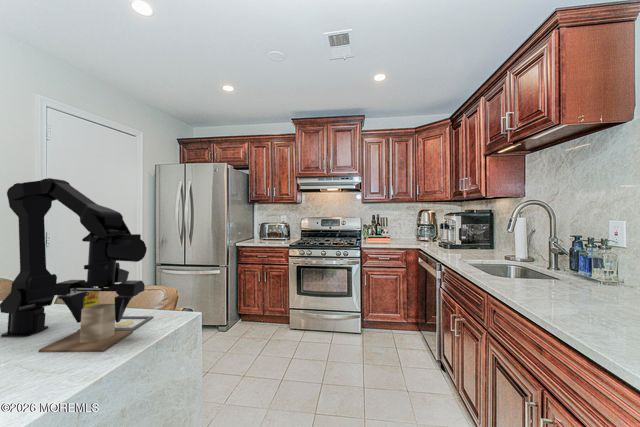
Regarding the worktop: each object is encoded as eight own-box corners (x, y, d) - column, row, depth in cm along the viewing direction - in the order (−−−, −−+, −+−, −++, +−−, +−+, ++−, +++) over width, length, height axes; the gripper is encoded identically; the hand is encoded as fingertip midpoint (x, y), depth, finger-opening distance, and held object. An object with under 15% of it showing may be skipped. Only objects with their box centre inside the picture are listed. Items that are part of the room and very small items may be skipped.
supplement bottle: (74, 316, 90) (76, 283, 91) (77, 312, 95) (79, 280, 96) (97, 314, 94) (99, 282, 94) (98, 309, 98) (100, 279, 99)
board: (38, 352, 66) (38, 350, 66) (78, 333, 78) (78, 330, 78) (103, 352, 67) (103, 349, 67) (132, 333, 79) (132, 330, 79)
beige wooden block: (79, 342, 70) (81, 309, 71) (94, 334, 75) (96, 303, 76) (101, 342, 71) (103, 309, 71) (114, 334, 76) (116, 303, 76)
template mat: (77, 332, 78) (77, 330, 78) (106, 318, 90) (106, 316, 90) (131, 332, 79) (132, 330, 79) (153, 318, 91) (153, 316, 91)
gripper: (156, 257, 83) (153, 312, 82) (86, 255, 81) (83, 312, 80) (134, 262, 71) (130, 326, 71) (53, 260, 70) (48, 326, 69)
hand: (98, 322), depth 73 cm, fingers open, 9 cm apart
